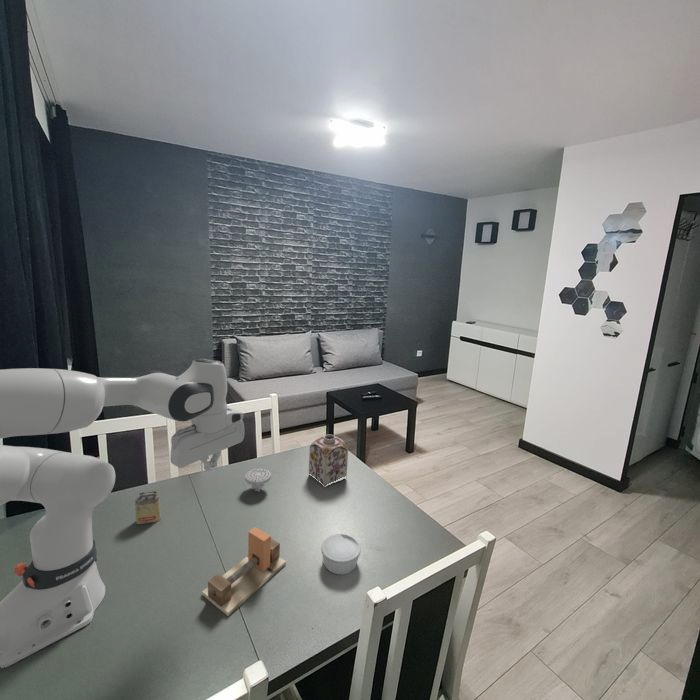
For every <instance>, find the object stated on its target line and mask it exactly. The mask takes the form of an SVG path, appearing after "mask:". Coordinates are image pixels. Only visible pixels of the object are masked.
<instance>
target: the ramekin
mask: <svg viewBox="0 0 700 700" xmlns="http://www.w3.org/2000/svg"><path fill="white" fill-rule="evenodd" d="M358 541H359V540H357V539H356V538H355V537H353V536H351V535H349V534H344V533H335V534H331V535H329V536H327V537H326V538H324V540H323V541H322V544H321V554H322V561H323V565H324V566H325V568H326V570H328V571H329V572H330V573H333V574H336V575H346V574H349V573H350V572H352V571H353V570H354V569H355V568H356V565H358V564H357V563H358V560H359V557H360V555H361V549H362V548H361V545H360V543H359V542H358Z"/></svg>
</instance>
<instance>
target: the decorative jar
mask: <svg viewBox="0 0 700 700" xmlns="http://www.w3.org/2000/svg"><path fill="white" fill-rule="evenodd" d="M308 455H309V457H308V475H309V474H311V475H312V476H314V477H315V478H316V479H317V480H318V481H320V482H321V483H322V484H323V485H324V486H326V485H327V484H329V483H331V482H334V481H336V480H338V479H340V478H342V477H345V476H346V477H347V476H348V475H347V474H348V462H349V461H348V458H349V449H348V446H347V445H346V443H345V441H344V440H343V439H342V438H339V437H338V436H336V435H333V434H325V435H324V436H320V437H317V438H316V439H315V440H314V441H313V442H312V443H311V444H310V446H309V454H308Z"/></svg>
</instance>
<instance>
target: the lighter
mask: <svg viewBox="0 0 700 700" xmlns="http://www.w3.org/2000/svg"><path fill="white" fill-rule="evenodd" d="M134 502H135V503H134V506H135V519H136V521H135V523H136V524H137V525H143V524H144V525H145V524H151V523H157V522H159V521H160V520H161V518H162V516H161V498H160V495H159V494H157V490H156V489H154V490H153V491H148V492H147V491H146V492H145V491H141V492H139V496H138V497H136V498H135V501H134Z"/></svg>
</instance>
